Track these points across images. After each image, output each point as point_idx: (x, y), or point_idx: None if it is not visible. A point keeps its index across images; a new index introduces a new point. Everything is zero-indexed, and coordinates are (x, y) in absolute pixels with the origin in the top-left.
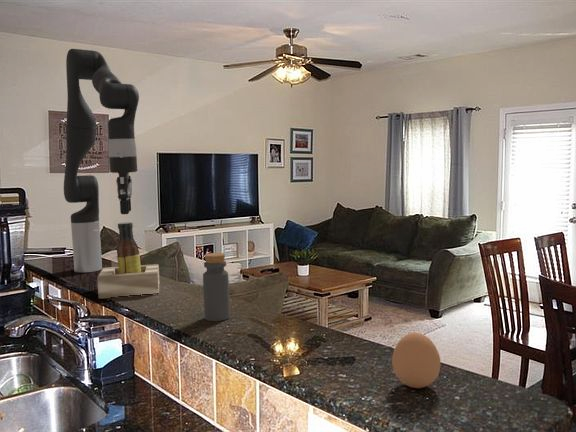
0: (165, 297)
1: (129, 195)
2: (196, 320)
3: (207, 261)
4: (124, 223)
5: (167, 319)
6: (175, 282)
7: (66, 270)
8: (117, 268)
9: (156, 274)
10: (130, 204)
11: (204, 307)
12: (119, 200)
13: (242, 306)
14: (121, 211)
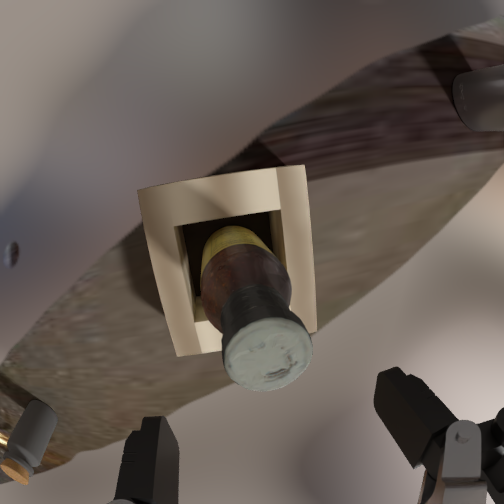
0: (149, 344)
1: (424, 486)
2: (28, 390)
3: (4, 460)
4: (229, 366)
5: (21, 356)
6: None
7: (470, 60)
8: (282, 217)
9: (177, 352)
10: (393, 437)
11: (28, 409)
12: (116, 501)
13: (99, 441)
14: (145, 432)
